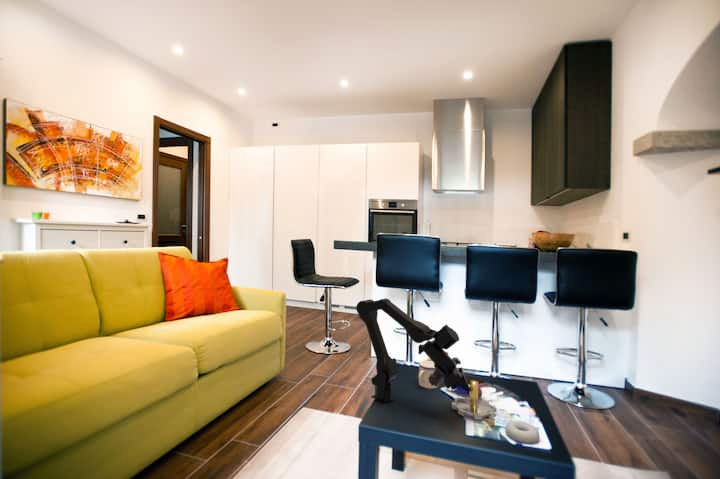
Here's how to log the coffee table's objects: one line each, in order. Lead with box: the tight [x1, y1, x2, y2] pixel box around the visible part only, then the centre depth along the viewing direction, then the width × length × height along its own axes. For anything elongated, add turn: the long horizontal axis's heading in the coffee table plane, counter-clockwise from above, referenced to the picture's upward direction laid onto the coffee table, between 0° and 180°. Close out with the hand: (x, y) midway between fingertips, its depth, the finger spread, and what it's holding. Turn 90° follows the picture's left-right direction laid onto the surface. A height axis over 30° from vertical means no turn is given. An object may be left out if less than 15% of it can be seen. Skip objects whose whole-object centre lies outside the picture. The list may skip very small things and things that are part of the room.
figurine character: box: [450, 374, 485, 400], centre depth 149 cm, size 7×8×15 cm
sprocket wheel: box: [451, 380, 497, 420], centre depth 132 cm, size 15×15×12 cm
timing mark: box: [484, 418, 496, 426], centre depth 124 cm, size 2×2×1 cm
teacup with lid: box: [418, 357, 440, 390], centre depth 156 cm, size 12×9×12 cm
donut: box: [505, 420, 540, 444], centre depth 116 cm, size 10×4×10 cm
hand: (469, 391), depth 127 cm, fingers closed
